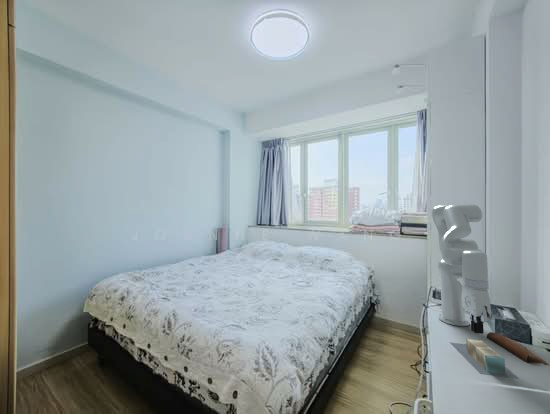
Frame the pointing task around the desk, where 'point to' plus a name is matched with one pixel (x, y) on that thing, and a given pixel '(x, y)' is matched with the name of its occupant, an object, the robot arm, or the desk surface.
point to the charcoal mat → (463, 351)
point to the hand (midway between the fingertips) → (477, 332)
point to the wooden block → (486, 356)
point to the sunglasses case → (515, 348)
